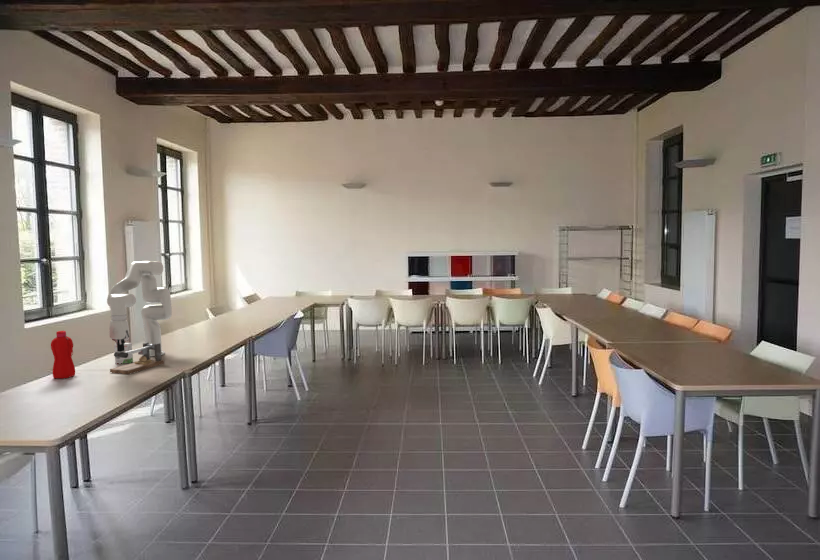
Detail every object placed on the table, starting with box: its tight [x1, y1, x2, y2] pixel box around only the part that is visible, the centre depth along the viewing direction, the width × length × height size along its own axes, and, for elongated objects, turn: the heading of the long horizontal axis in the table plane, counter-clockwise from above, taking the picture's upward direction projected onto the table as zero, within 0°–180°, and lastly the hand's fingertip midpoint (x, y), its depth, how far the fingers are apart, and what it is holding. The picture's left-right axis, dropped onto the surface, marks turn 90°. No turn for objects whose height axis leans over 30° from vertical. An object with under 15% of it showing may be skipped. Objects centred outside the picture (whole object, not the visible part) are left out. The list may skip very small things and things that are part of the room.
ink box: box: [113, 342, 134, 365], centre depth 333 cm, size 8×5×12 cm, turn 91°
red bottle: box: [50, 330, 76, 380], centre depth 301 cm, size 9×11×25 cm
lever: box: [113, 344, 155, 358], centre depth 319 cm, size 25×7×4 cm, turn 160°
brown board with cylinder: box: [109, 342, 165, 375], centre depth 319 cm, size 13×26×12 cm, turn 160°
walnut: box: [138, 355, 147, 362], centre depth 323 cm, size 4×4×4 cm
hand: (120, 351), depth 309 cm, fingers closed
